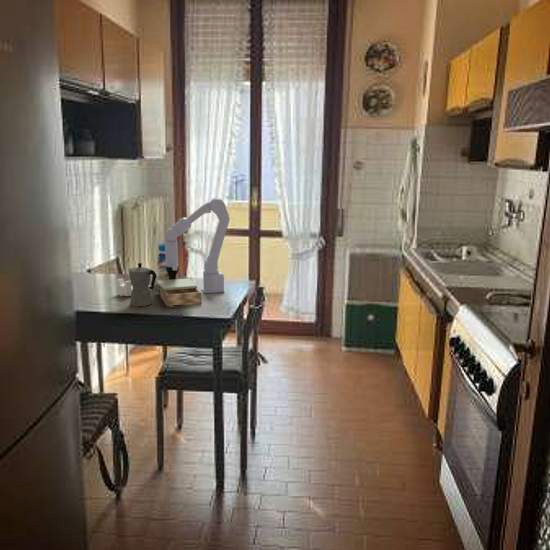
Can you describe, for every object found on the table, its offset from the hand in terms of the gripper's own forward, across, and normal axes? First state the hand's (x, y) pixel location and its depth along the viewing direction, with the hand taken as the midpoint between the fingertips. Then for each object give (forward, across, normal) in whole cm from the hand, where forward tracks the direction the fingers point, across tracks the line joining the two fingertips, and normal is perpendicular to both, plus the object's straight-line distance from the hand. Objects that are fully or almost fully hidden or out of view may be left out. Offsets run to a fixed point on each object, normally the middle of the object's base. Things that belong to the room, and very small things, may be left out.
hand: (172, 282), depth 256 cm
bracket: (+5, -1, -17) cm, 18 cm away
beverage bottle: (+5, -17, 0) cm, 18 cm away
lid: (+2, +10, 0) cm, 10 cm away
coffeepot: (+5, +19, -16) cm, 25 cm away
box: (+4, +18, 0) cm, 19 cm away
